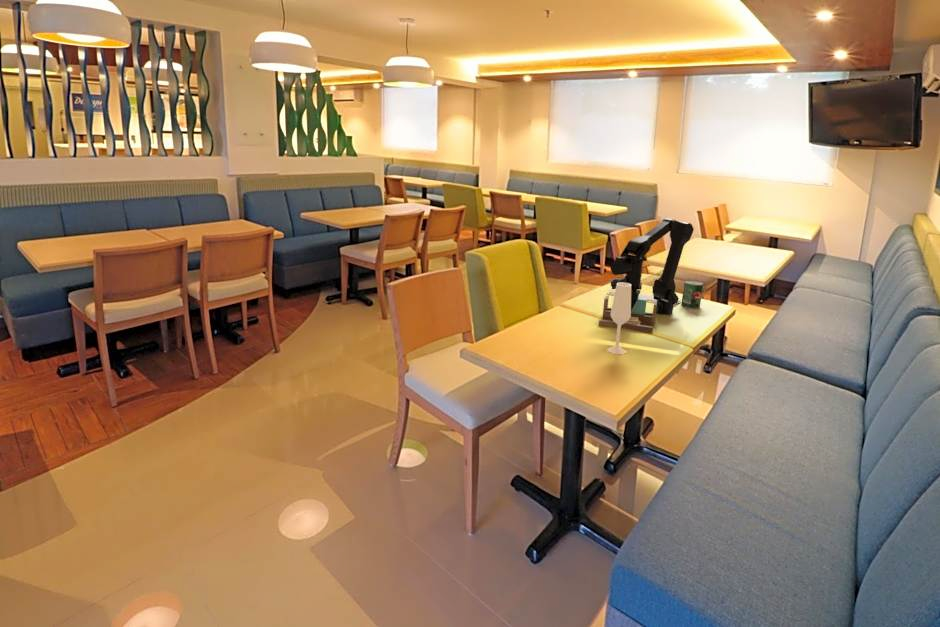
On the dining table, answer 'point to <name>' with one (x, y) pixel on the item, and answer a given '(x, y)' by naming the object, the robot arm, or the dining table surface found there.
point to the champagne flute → (620, 312)
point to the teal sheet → (639, 307)
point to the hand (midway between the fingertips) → (629, 310)
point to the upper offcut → (633, 320)
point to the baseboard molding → (643, 297)
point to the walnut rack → (646, 319)
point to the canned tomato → (692, 294)
